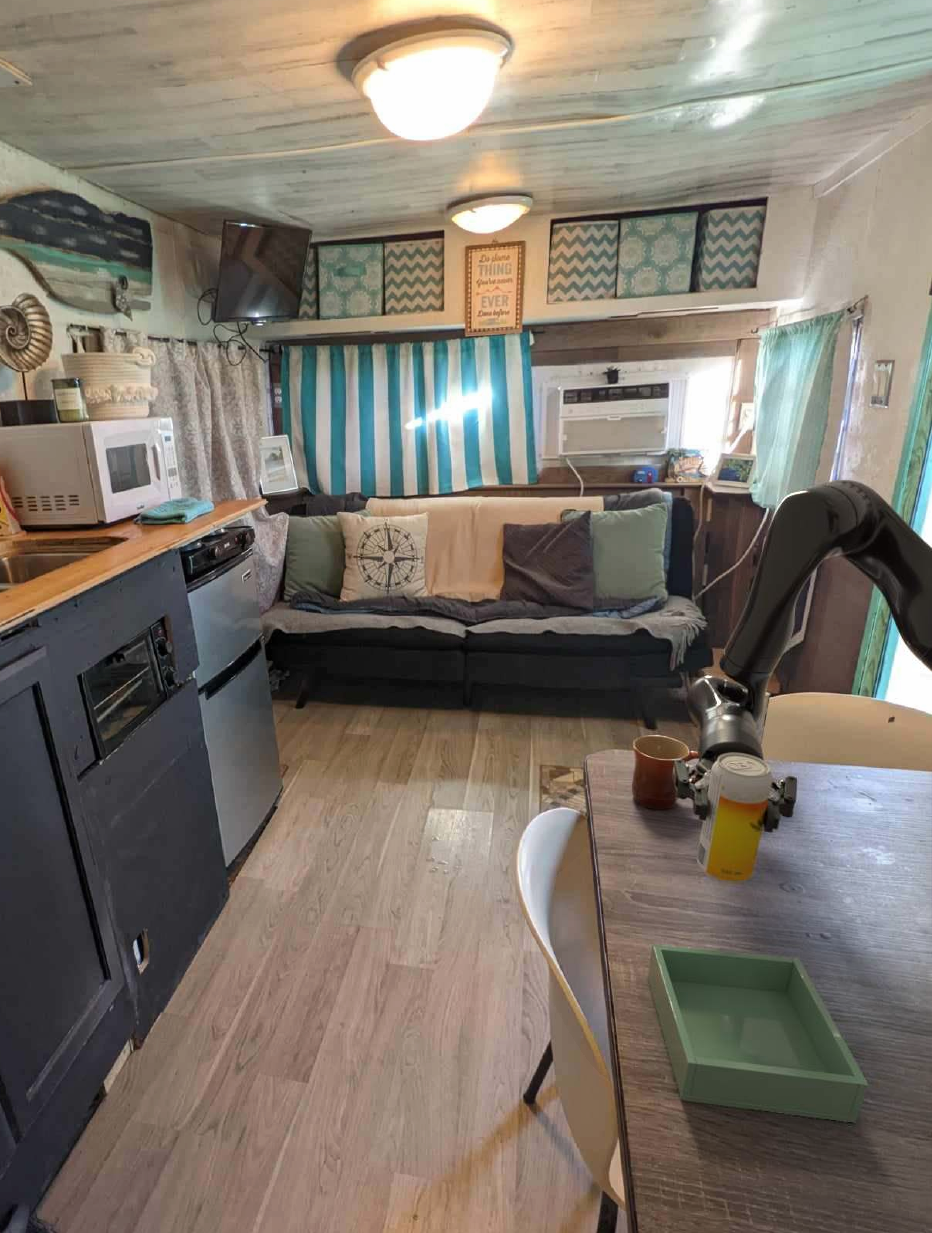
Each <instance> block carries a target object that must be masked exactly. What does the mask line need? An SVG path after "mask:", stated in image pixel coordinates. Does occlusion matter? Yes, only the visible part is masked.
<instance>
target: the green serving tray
mask: <svg viewBox="0 0 932 1233" xmlns="http://www.w3.org/2000/svg"><path fill="white" fill-rule="evenodd" d="M650 952H651V953H650V958H649V967H648V973H647V982H648V985H649V989H650V993H651V996H652V999H653V1003H654V1008H655V1011H656V1014H657V1017H658V1022H659V1025H660V1028H661V1032H662V1036H663V1039H664V1043H665V1047H666V1051H667V1054H668V1059H669V1061H670V1065H671V1069H672V1072H673V1076H674V1080H675V1084H676V1088H677V1091H678V1094H679V1099H680V1101H683V1102H691V1103H698V1104H707V1105H712V1104H713V1105H714V1106H720V1105H721V1106H722V1107H727V1106H728V1108H734V1107H735V1108H736V1109H741V1110H749V1109H750V1110H751V1109H754V1110H753V1111H757V1110H762V1111H761V1112H764V1111H770V1112H769V1113H772V1112H778V1113H777V1114H779V1112H781V1113H784V1114H783V1115H786V1114H785V1113H788V1114H790V1115H789V1116H792V1115H791V1114H794V1115H800V1116H799V1117H802V1116H803V1115H804V1116H808V1117H807V1118H809V1117H813V1118H812V1119H816V1118H819V1119H818V1120H824V1119H830V1120H829V1121H831V1120H837V1121H836V1122H839V1121H840V1122H839V1123H846V1122H853V1123H852V1124H854V1123H856V1124H857V1121H858V1118H859V1116H860V1113H861V1110H862V1106H863V1104H864V1100H865V1097H866V1094H867V1091H868V1088H869V1083H868V1082H867V1080H866V1077H865V1076H864V1074H863V1073H862V1070H861V1069H860V1066H859V1065H858V1063H857V1061H856V1060H855V1058H854V1056H853V1054H852V1052H851V1051H850V1048H849V1047H848V1045H847V1043H846V1042H845V1040H844V1038H843V1036H842V1034H841V1033H840V1032H841V1031H839V1029H838V1027H837V1025H836V1023H835V1021H834V1020H833V1018H832V1016H831V1014H830V1012H829V1010H828V1009H827V1006H826V1005H825V1003H824V1001H823V1000H822V998H821V995H820V994H819V993H818V990H817V989H816V987H815V984H814V983H813V981H812V979H811V978H810V976H809V974H808V972H807V971H806V969H805V967H804V965H803V962H802V961H801V959H800V958H799V957H794V956H793V957H790V956H780V955H779V956H778V955H769V954H759V953H749V952H748V953H747V952H739V951H727V950H718V949H706V948H697V947H687V946H686V947H685V946H674V945H667V944H666V945H665V944H652V945H651V951H650ZM713 1105H712V1106H713ZM750 1110H749V1111H750ZM751 1111H752V1110H751ZM794 1115H793V1116H794ZM814 1117H815V1118H814ZM820 1118H821V1119H820ZM841 1121H843V1122H841Z"/></svg>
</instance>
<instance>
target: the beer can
mask: <svg viewBox="0 0 932 1233" xmlns="http://www.w3.org/2000/svg"><path fill="white" fill-rule="evenodd" d="M772 779H773V775H772V772H771V766H770V765H769V764H768V762H766V761H765V760H764V761H763V760H762V759H760V758H758V757H755V756H752V755H748V754H743V753H726V754H722V755H720V756H719V757H718V759H717V761H716V762H715V763H714V764H713V766H712V772H711V778H710V784H709V789H708V811H707V817H706V821H704V820H702V826H701V831H700V838H699V844H698V849H697V856H696V862H697V864H698V867H700V868H701V870H702V872H703V874H705V875H706V876H707V877H708V878H710V879H712V880H714V881H716V882H719V883H722V884H727V885H737V884H738V885H739V884H741V883H744V882H745V881H747V880H749V879H750V878H752V876H753V875H754V871H755V865H756V861H757V855H758V850H759V846H760V842H761V837H762V831H763V828H764V825H763V823H764V818H765V813H766V808H767V803H768V798H769V794H770V790H771V789H772V788H771V784H772Z"/></svg>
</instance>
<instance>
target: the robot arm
mask: <svg viewBox="0 0 932 1233" xmlns="http://www.w3.org/2000/svg"><path fill="white" fill-rule="evenodd" d="M837 556H840V557H841V558H843V559H844V560H845V561H847V562H849V563H850V564H851V565H852V566H853V567H855V568H856V569H857V570H858V571H860V572H861V573H862V574H863V575H864V576H865V577H867V579H869V580H870V581H871V582H872V583H873V584H874V585H875V587H876V588H877V589H878V591H880V593H881V594H882V596H883V598H884V599H885V602H886V604H887V607H888V610H889V611H890V614H891V616H892V619H893V621H894V624H895V627H896V629H897V631H898V634H899V635H900V638H901V639H902V641H903V643H904V644H905V647H907V649H908V650H909V651H910V652H911V653H912V655H914V657H915V658H917V659H918V661H919V662H921V663H922V664H923V665H924V666H925V667H926V668H927V669H928V670H929V671H930V672H932V546H931V545H930V544H929V543H927V542H926V541H925V540H924V539H923V538H922V537H921V536H920V535H919V534H918V533H917V532H916V531H915V530H914V529H913V528H912V526H910V525H909V524H908V522H906V521H905V519H904V518H902V516H901V515H900V514H899V513H898V512H897V511H896V510H895V509H894V508H893V507H892V506H891V505H890V504H889V503H888V502H887V501H886V500H885V499H884V498H883V497H882V496H881V495H880V494H879V493H878V492H877V491H875V489H873V488H871V487H870V486H868V485H867V484H865V483H863V482H860V481H857V480H852V479H837V480H832V481H828V482H824V483H819V484H815V485H812V486H808V487H805V488H802V489H798V490H796V491H794V492H792V493H790V494H788V495H787V496H786V497H785V498H784V499H783V500H782V501H781V502H779V504H778V506H777V507H776V509H775V510H774V512H773V515H772V517H771V520H770V523H769V525H768V529H767V531H766V535H765V539H764V542H763V547H762V551H761V553H760V558H759V561H758V564H757V568H756V571H755V575H754V578H753V580H752V581H753V582H752V584H751V588H750V591H749V594H748V596H747V600H746V602H745V604H744V605H745V606H744V608H743V610H742V613H741V615H740V617H739V619H738V621H737V623H736V625H735V626H734V629H733V631H732V633H731V635H730V636H729V639H728V641H727V643H726V645H725V647H724V649H723V650H722V653H721V655H720V658H719V665H718V666H719V668H720V670H721V671H722V673H723V674H724V675H725V676H726V677H728V678H729V679H730V680H729V679H725V678H723V677H719V676H716V675H715V676H714V675H704V676H702V677H699V678H697V679H696V680H695V681H693V683H692V684H691V685H690V687H689V689H688V692H687V696H686V707H687V712H688V714H689V716H690V719H692V721H693V722H694V724H695V725H696V727H697V728H698V730H699V731H700V735H699V738H698V746H697V752H698V754H699V759H698V763H696V765H689V764H686V763H685V761H684V760H682V759H675V760H674V767H673V774H672V778H673V782H674V787H675V791H676V795H677V797H678V799H680V800H687V799H690V800H691V801H692V813H693V814H694V815H695V816H698V820H700V821H703V820H704V821H706V817H707V811H708V789H709V784H710V778H711V772H712V766H713V764H714V763H715V762H716V761H717V759H718V757H719V756H720V755H722V754H726V753H743V754H748V755H752V756H755V757H758V758H760V759H762V760H763V761H765V758H764V753H763V748H762V744H761V742H760V739H759V736H758V734H757V732H756V725H758V723H759V722H760V721H761V719H762V716H763V712H764V705H765V696H766V692H767V690H768V686H769V683H770V680H771V677H772V675H773V673H774V671H775V669H776V667H777V666H778V663H779V662H780V660H781V659H782V657H783V655H784V653H785V652H786V650H787V648H788V646H789V644H790V641H791V638H792V636H793V633H794V629H795V619H796V617H795V616H796V614H795V613H796V605H797V603H798V599H799V596H800V594H801V591H802V590H803V588H804V586H805V585H806V583H807V582H808V580H809V579H810V577H811V576H812V575H813V573H814V572H815V571H817V570H816V569H817V568H818V567H819V566H820V565H821V564H822V563H823V561H825V560H828V559H830V558H834V557H837ZM732 680H733V681H732ZM694 776H695V777H696V778H697V779H698V780H699V781H698V782H697V783H696V784H692V783H690V780H689V779H690V778H692V777H694ZM772 778H773V777H772ZM771 789H772V790H774V792H773V791H772V790H771ZM771 789H770V794H769V798H768V803H767V808H766V813H765V818H764V823H763V831H764V832H765V833H771V834H772V833H773V831H774V830H776V831H777V830H778V829H779V827H780V822H781V817H784V818H787V819H790V818H793V815H794V809H795V804H796V802H797V795H798V794H797V793H798V778H797V777H796V776H793V775H786V776H785V778H784V779H780V778H776V777H775V778H773V779H772V784H771ZM775 793H776V794H775Z"/></svg>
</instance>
